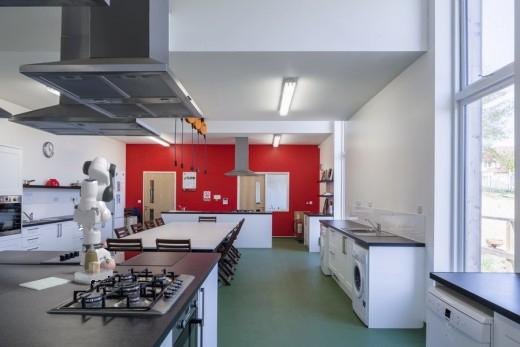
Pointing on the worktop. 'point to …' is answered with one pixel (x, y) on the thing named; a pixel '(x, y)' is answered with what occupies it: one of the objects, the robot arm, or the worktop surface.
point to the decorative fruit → (107, 264)
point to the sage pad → (45, 283)
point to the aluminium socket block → (92, 275)
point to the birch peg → (94, 267)
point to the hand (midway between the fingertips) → (85, 231)
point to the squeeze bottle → (90, 256)
